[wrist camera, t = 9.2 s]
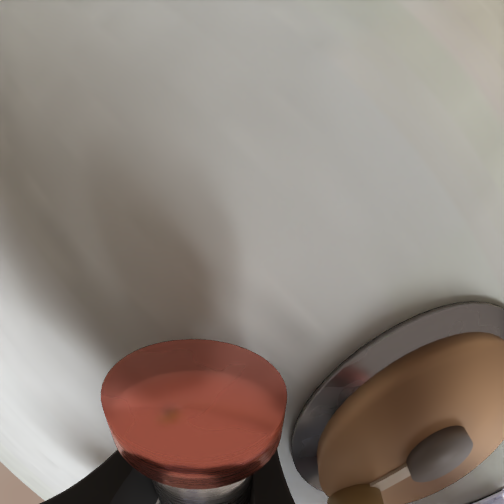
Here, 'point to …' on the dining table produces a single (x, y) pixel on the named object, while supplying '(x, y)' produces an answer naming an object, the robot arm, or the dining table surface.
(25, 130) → the dining table surface
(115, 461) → the robot arm
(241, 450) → the copper capped rod
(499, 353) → the handwheel
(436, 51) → the dining table surface
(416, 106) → the dining table surface
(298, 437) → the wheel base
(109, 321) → the dining table surface
